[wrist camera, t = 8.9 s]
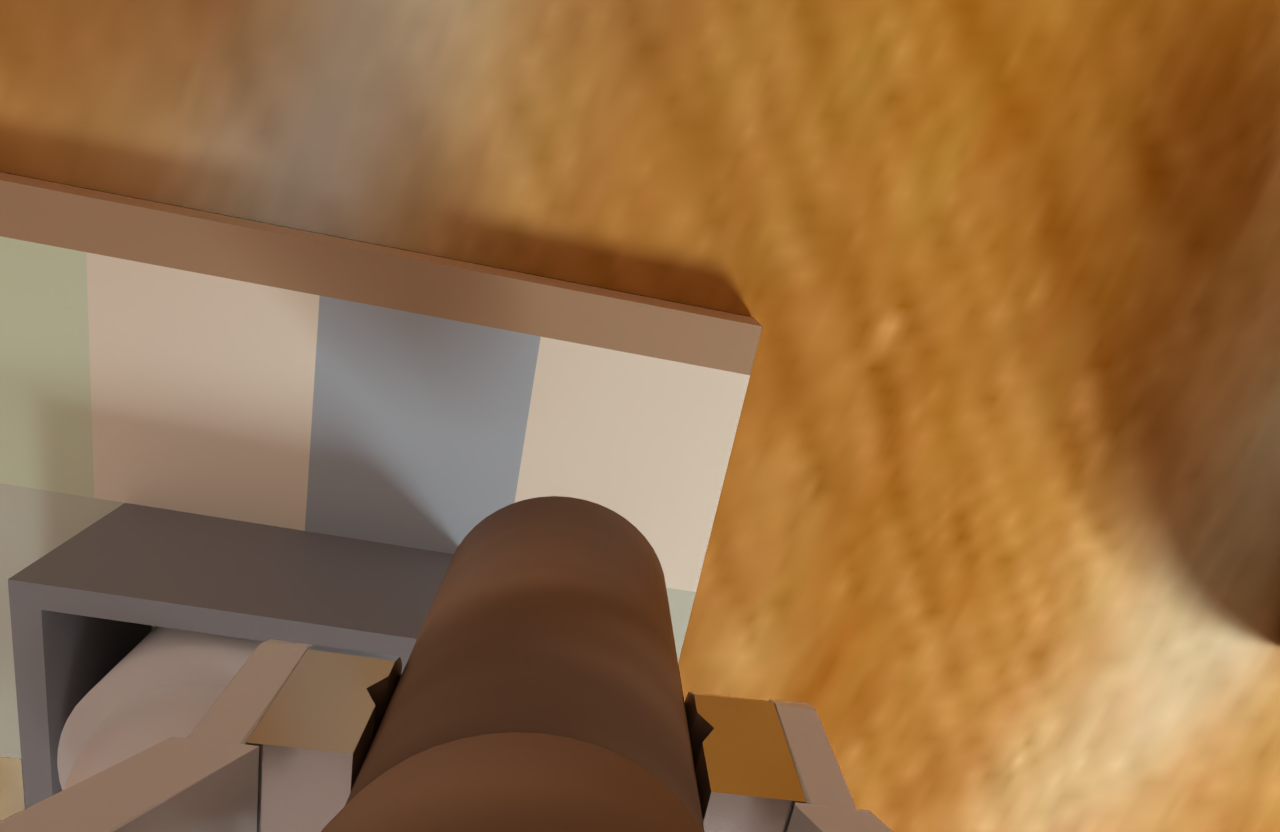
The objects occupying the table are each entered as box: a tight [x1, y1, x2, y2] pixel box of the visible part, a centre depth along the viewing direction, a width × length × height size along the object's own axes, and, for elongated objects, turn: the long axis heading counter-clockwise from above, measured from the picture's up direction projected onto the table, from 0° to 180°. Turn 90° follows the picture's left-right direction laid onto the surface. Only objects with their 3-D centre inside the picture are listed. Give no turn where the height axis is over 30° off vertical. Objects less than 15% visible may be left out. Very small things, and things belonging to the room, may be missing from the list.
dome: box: [57, 626, 263, 791], centre depth 13 cm, size 5×5×5 cm
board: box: [0, 172, 762, 809], centre depth 14 cm, size 21×13×4 cm, turn 79°
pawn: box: [321, 496, 705, 832], centre depth 7 cm, size 4×4×8 cm
